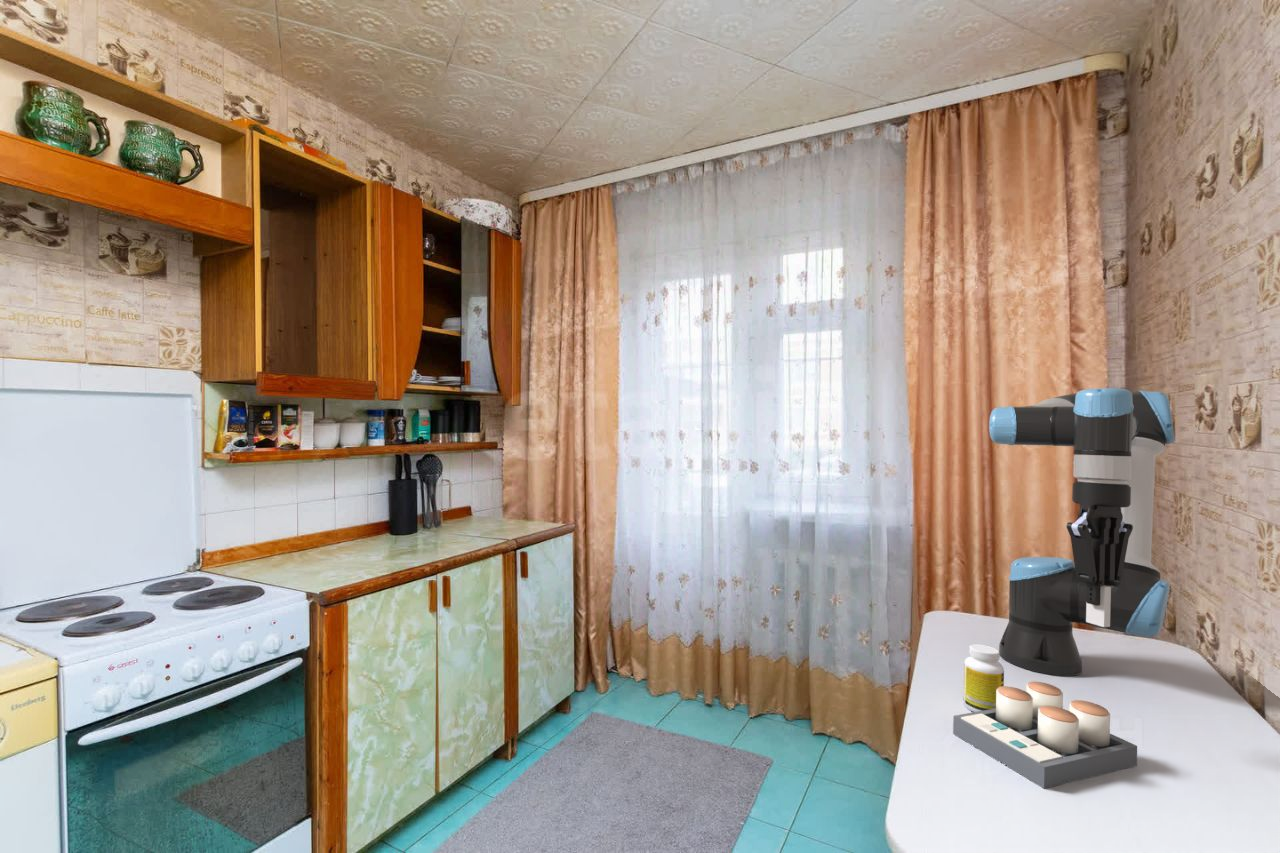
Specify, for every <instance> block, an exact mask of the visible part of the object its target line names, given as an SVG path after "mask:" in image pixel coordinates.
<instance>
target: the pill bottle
mask: <svg viewBox="0 0 1280 853" xmlns="http://www.w3.org/2000/svg"><path fill="white" fill-rule="evenodd" d="M999 654H1000V653H999V649H996V648H995V647H992V646H988V645H985V644H977V643H974V644H971V645H969V655H970V656H968V657H966V658H965V660H964V664H963V670H964V672H963V705H964V707H965V708H966V709H968V710H969V711H970V712H971V713H972V712H978V711H984V710H990V709H995V708H996V690H997V689H998V687H1001V686H1005V685H1004V684H1005V669H1004V666H1003V665H1002V663H1000V662H999V660H1000V658H1001V656H1000V655H999Z"/></svg>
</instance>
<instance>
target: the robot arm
mask: <svg viewBox="0 0 1280 853" xmlns="http://www.w3.org/2000/svg"><path fill="white" fill-rule="evenodd" d="M988 428H989V429H988V430H989V431H988V432H989V437H990V439H991V441H992V442H994V443H995V444H998V445H1008V446H1054V447H1074V448H1073V449H1074V450H1073V461H1072V464H1073V474H1072V476H1073V477H1074V479H1077V481H1073V482H1072V491H1071V492H1072V495H1071V497H1072V498H1071V499H1072V502H1073V503H1074V504H1078V505H1079V510H1078V513H1077V520H1076V521H1075V522H1071V521H1070V522H1067V524H1066V529H1067V531H1068V534H1069V535H1070V542H1071V549H1072V556H1073V557H1072V558H1073V560H1072V559H1070V558H1063V557H1054V556H1052V557H1051V556H1028V557H1020V558H1017V559H1015V560H1013V561H1012V562H1011V564H1010V570H1009V571H1010V572H1009V577H1008V581H1009V595H1008V597H1009V598H1008V599H1009V601H1008V602H1009V604H1008V623H1007V626H1005V627H1006V628H1005V629H1004V632H1003V634H1002V637H1001V640H1000V642H999V644H998V651H999V653H1000V654H999V657H1000V658H1002V659H1003V660H1004V661H1006V662H1007V663H1010V664H1012V665H1014V666H1017V667H1019V668H1022V669H1027V670H1028V671H1033V672H1036V673H1037V672H1038V673H1042V674H1047V675H1052V676H1061V677H1062V676H1064V677H1066V676H1068V677H1070V676H1072V677H1073V676H1078V675H1080V674H1081V673H1082V671H1083V670H1082V669H1083V661H1082V657H1081V656H1080V652H1079V649H1078V646H1077V644H1076V641H1075V638H1074V635H1073V623H1075V624H1080V625H1086V626H1088V627H1089V626H1090V627H1093V628H1094V627H1095V628H1100V629H1105V630H1110V631H1114V632H1119V633H1123V634H1125V635H1129V636H1130V635H1134V636H1139V637H1146V638H1153V637H1157V636H1158V635H1159V634H1160V633H1161V631H1162V628H1163V624H1164V619H1165V618H1166V617H1165V615H1166V611H1167V608H1168V607H1167V606H1168V601H1169V595H1170V588H1171V585H1170V582H1168V581H1166V580H1165V579H1161V571H1160V570H1159V569H1158V568H1157V567H1156V566H1155V565H1154V564H1153V563H1152V549H1153V548H1152V545H1153V544H1152V543H1153V520H1154V517H1153V516H1154V500H1155V498H1154V496H1155V495H1154V494H1155V472H1156V471H1155V470H1156V469H1155V468H1156V467H1155V466H1156V457H1157V456H1159V455H1161V454H1163V453H1164V452H1165V450H1166V445H1170V444H1173V443H1174V442H1175V432H1174V425H1173V417H1172V410H1171V406H1170V400H1169V397H1168V395H1167V394H1165V392H1162V391H1150V390H1149V391H1145V390H1144V391H1143V390H1138V391H1131V390H1128V389H1126V388H1115V387H1114V388H1113V387H1112V388H1111V387H1110V388H1109V387H1107V388H1100V387H1099V388H1087V389H1082V390H1079V391H1078V392H1077V393H1071V394H1070V393H1069V394H1063V395H1060V396H1055V397H1051V398H1047V399H1043V400H1042V401H1040V402H1038V403H1036V404H1033V405H1028V406H1027V405H1026V406H1010V405H1009V406H1002V407H1001V406H1000V407H999V406H998V407H995V408H993V410H991V412H990V416H989V424H988ZM1077 674H1078V675H1077Z"/></svg>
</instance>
